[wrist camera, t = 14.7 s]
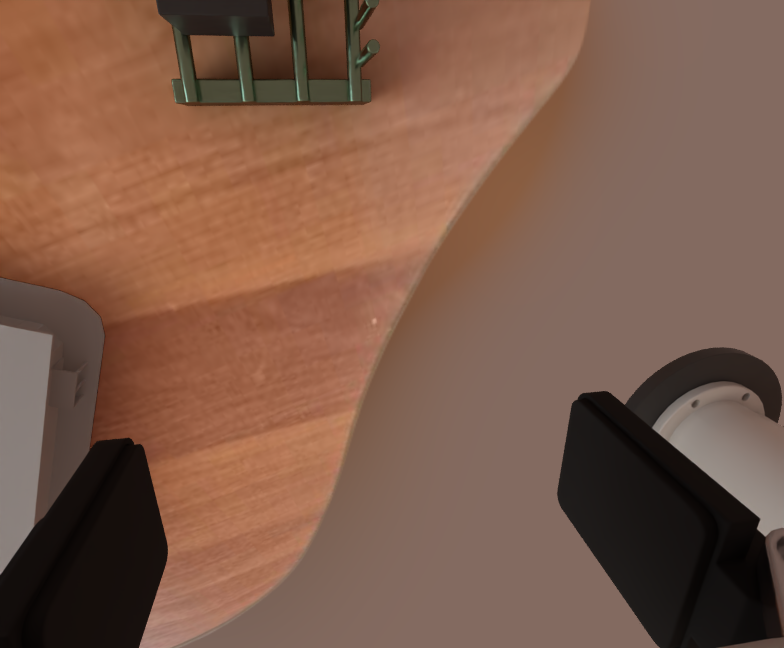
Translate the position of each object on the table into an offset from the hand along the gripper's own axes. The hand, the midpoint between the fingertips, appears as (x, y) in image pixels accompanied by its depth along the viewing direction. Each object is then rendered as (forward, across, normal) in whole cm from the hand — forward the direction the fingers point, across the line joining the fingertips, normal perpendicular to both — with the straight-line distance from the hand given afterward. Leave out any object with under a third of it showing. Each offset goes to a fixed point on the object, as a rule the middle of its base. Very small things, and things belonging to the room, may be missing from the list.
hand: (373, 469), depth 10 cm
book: (+25, +26, +12) cm, 38 cm away
